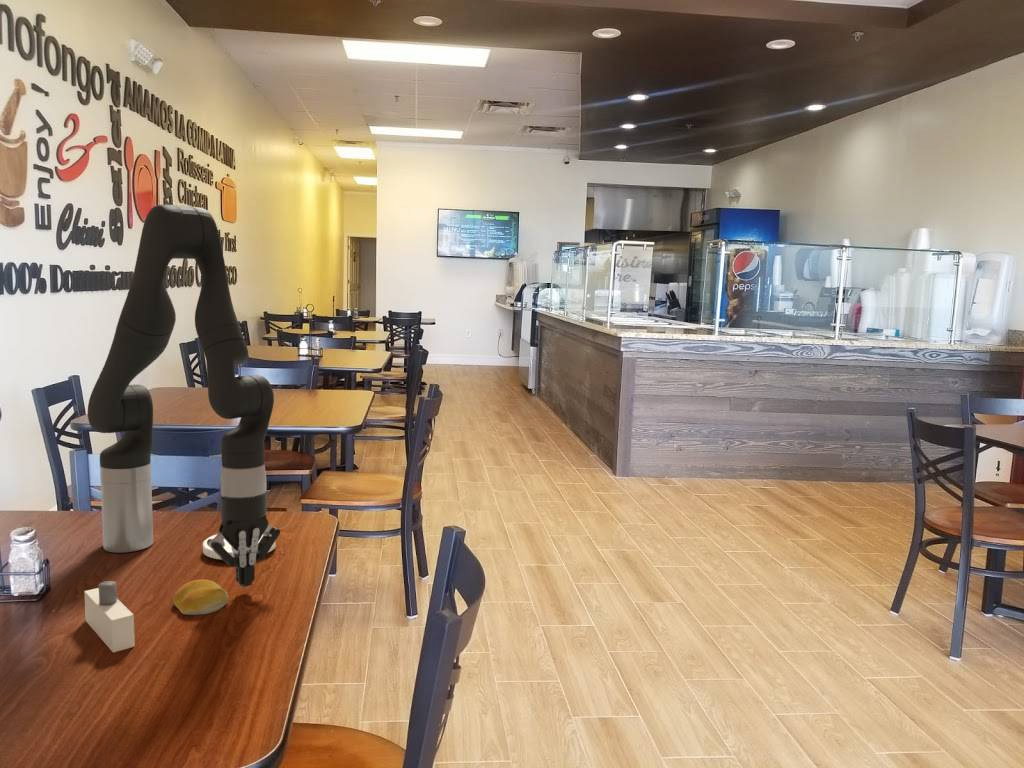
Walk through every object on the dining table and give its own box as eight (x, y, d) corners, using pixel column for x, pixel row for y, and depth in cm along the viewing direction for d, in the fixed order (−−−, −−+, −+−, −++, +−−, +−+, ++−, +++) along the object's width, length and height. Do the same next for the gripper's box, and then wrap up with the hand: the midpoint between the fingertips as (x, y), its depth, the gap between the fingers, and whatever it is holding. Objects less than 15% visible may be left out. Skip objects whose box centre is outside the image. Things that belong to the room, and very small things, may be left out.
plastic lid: (273, 538, 165) (273, 527, 164) (277, 560, 152) (277, 548, 151) (203, 544, 160) (203, 532, 159) (202, 568, 147) (201, 555, 146)
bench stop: (85, 620, 122) (83, 573, 121) (105, 615, 124) (104, 568, 123) (113, 652, 112) (111, 600, 111) (134, 646, 114) (133, 595, 113)
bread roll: (186, 621, 124) (185, 598, 123) (168, 603, 130) (167, 581, 130) (236, 608, 129) (236, 586, 128) (217, 591, 136) (216, 570, 135)
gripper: (269, 479, 140) (270, 570, 142) (197, 491, 131) (199, 588, 133) (289, 488, 134) (289, 582, 137) (215, 501, 125) (217, 601, 127)
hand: (245, 584), depth 135 cm, fingers closed
